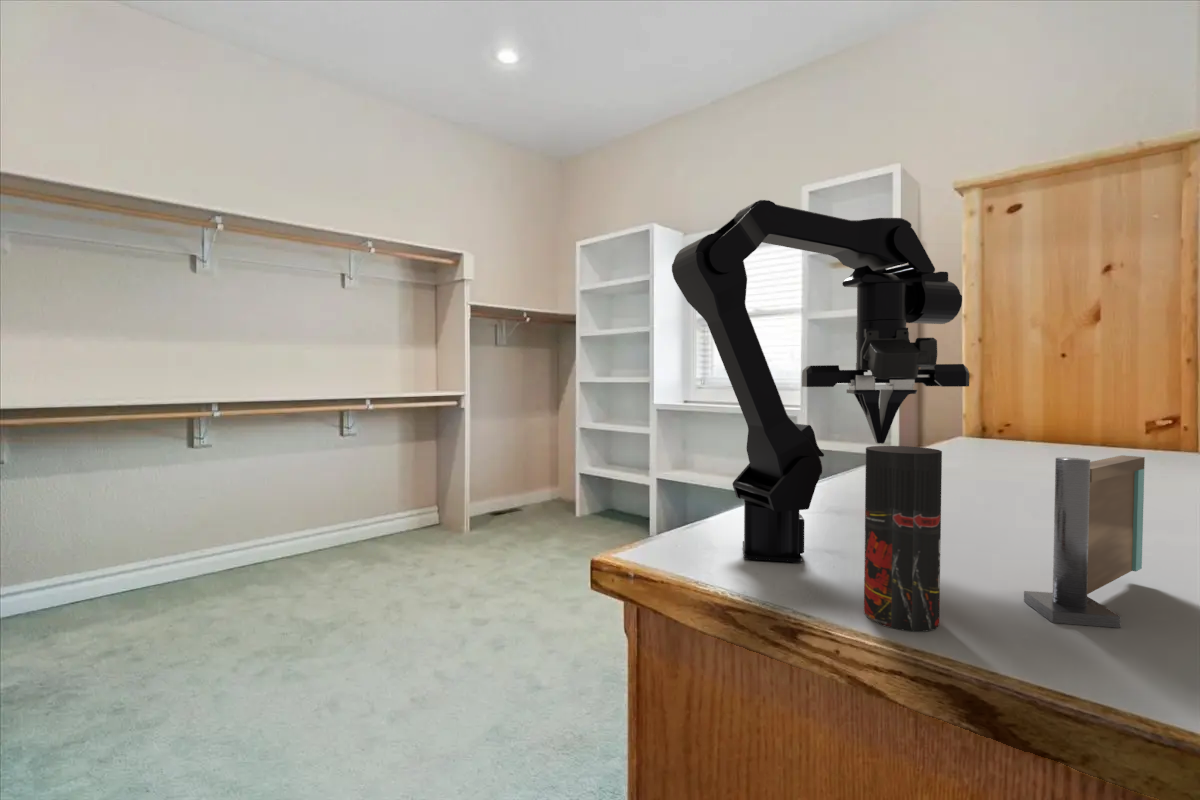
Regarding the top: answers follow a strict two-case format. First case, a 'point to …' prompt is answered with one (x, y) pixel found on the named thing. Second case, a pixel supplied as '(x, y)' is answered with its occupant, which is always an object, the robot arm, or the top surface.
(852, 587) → the top surface
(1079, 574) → the hinge post
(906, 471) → the deodorant
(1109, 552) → the gate
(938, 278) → the robot arm
